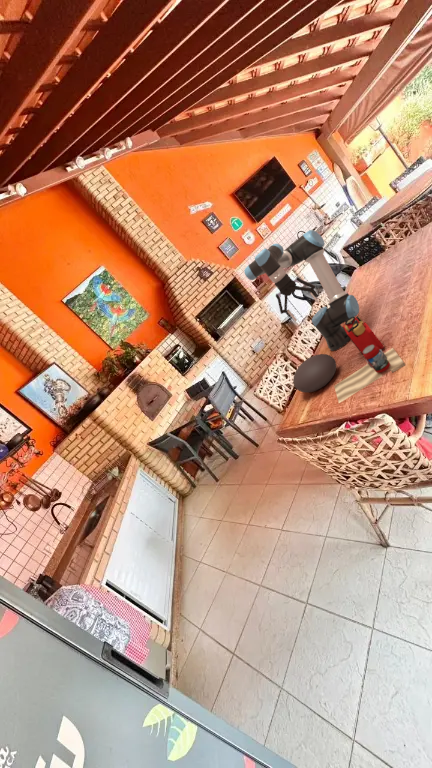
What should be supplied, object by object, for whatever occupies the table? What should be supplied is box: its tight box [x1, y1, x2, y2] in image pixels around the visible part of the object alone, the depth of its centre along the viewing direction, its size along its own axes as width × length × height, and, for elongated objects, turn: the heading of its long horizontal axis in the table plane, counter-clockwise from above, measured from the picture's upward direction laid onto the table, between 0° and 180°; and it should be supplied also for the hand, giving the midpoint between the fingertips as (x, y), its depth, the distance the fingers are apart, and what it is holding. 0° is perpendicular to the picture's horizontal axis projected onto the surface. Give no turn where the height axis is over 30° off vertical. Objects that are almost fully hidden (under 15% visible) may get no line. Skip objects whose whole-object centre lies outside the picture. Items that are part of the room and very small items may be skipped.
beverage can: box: [362, 345, 390, 373], centre depth 168 cm, size 7×7×12 cm
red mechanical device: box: [342, 315, 385, 357], centre depth 190 cm, size 16×10×20 cm, turn 168°
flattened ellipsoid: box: [292, 353, 337, 393], centre depth 203 cm, size 25×25×15 cm
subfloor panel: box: [333, 347, 406, 404], centre depth 177 cm, size 18×32×1 cm, turn 77°
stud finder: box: [365, 349, 387, 368], centre depth 178 cm, size 5×8×4 cm, turn 77°
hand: (307, 311), depth 189 cm, fingers open, 13 cm apart
